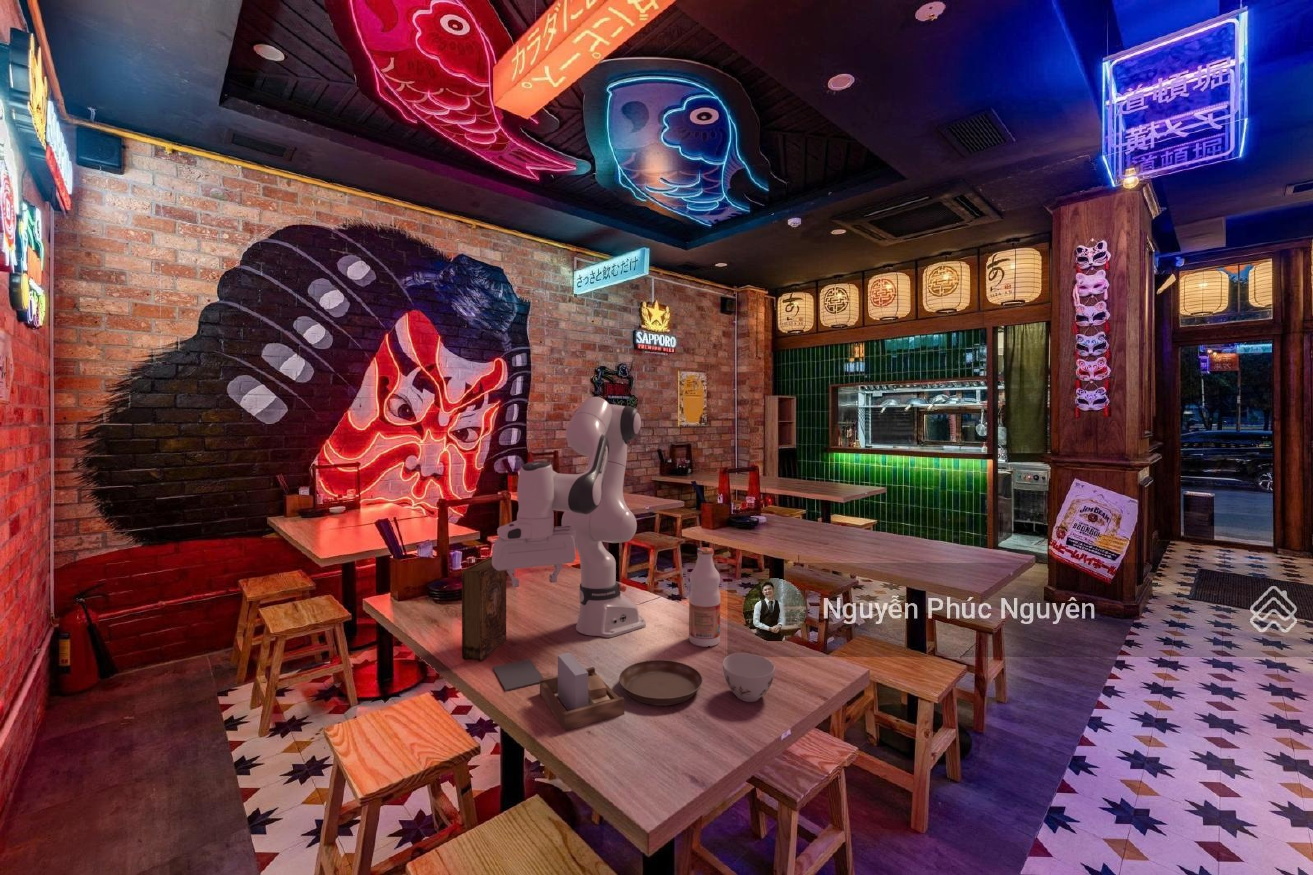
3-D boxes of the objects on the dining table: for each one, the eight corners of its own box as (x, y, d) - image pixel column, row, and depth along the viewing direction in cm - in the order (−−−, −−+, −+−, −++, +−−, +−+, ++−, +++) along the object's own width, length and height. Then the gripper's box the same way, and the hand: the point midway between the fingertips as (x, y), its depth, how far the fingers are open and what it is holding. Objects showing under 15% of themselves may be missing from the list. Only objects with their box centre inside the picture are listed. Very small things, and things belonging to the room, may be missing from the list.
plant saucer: (655, 663, 148) (655, 651, 148) (718, 687, 135) (718, 674, 135) (601, 692, 132) (601, 679, 132) (667, 722, 119) (668, 707, 119)
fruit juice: (683, 638, 165) (683, 547, 164) (709, 632, 169) (710, 544, 168) (698, 649, 157) (699, 554, 156) (726, 644, 161) (727, 550, 160)
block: (569, 693, 132) (569, 652, 131) (588, 716, 121) (588, 672, 121) (557, 696, 130) (557, 655, 130) (575, 720, 120) (575, 675, 119)
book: (491, 637, 165) (491, 556, 164) (508, 639, 163) (508, 557, 163) (461, 661, 149) (461, 571, 148) (480, 663, 147) (479, 572, 147)
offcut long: (594, 690, 134) (594, 680, 133) (610, 709, 125) (610, 699, 125) (579, 694, 132) (579, 684, 132) (594, 714, 123) (594, 703, 123)
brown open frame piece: (593, 680, 138) (593, 666, 138) (624, 713, 122) (624, 698, 122) (539, 693, 131) (539, 679, 131) (565, 730, 115) (565, 714, 115)
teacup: (748, 715, 122) (748, 680, 122) (711, 692, 132) (711, 660, 132) (792, 696, 131) (792, 663, 130) (754, 676, 141) (755, 646, 140)
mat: (529, 660, 149) (529, 659, 149) (545, 682, 137) (545, 680, 137) (492, 668, 144) (492, 666, 144) (505, 691, 132) (505, 689, 132)
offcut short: (598, 682, 132) (598, 674, 132) (606, 695, 126) (606, 687, 126) (582, 685, 131) (582, 677, 131) (589, 699, 125) (589, 690, 124)
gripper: (571, 523, 140) (570, 576, 140) (490, 528, 130) (489, 585, 131) (580, 527, 134) (579, 582, 135) (496, 533, 125) (495, 593, 125)
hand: (534, 584), depth 133 cm, fingers open, 8 cm apart
